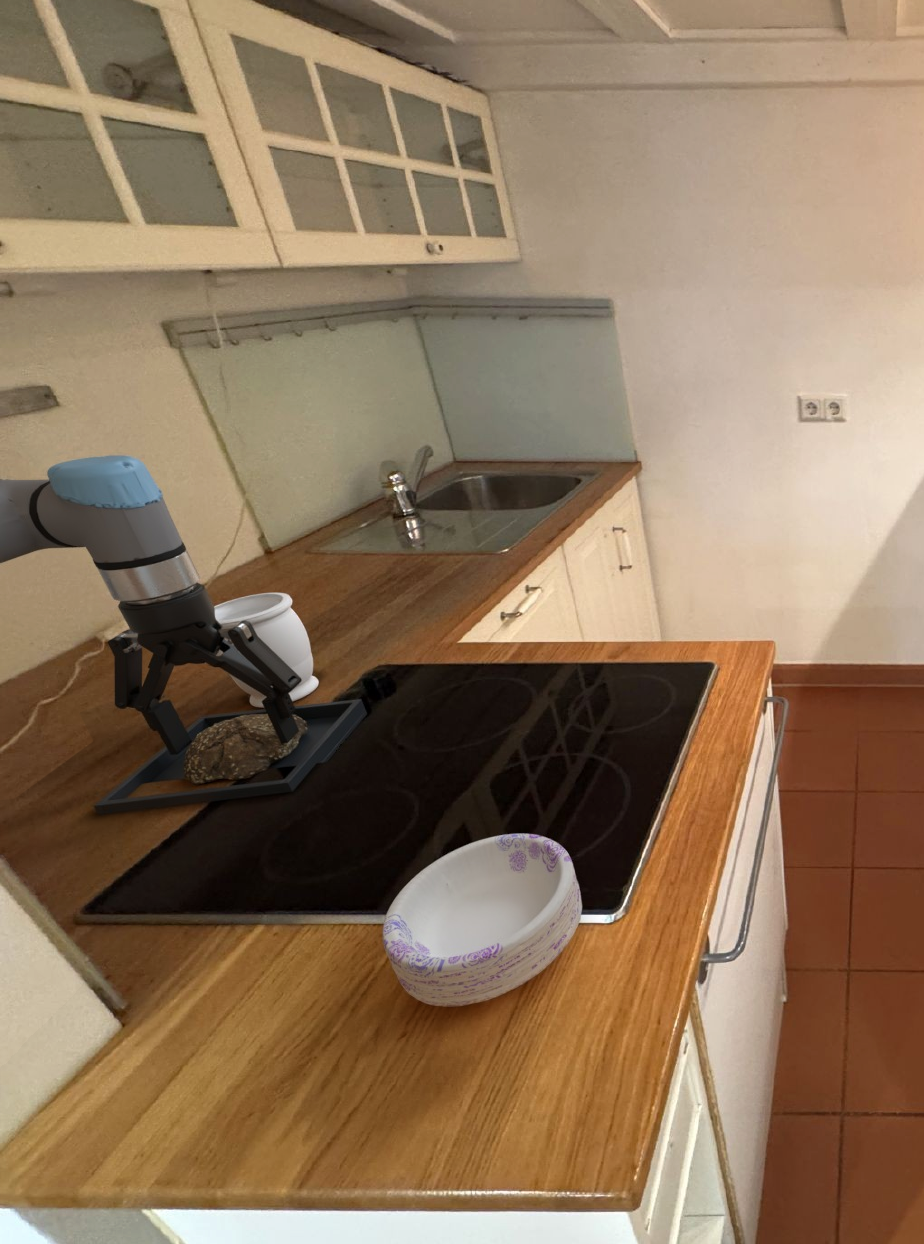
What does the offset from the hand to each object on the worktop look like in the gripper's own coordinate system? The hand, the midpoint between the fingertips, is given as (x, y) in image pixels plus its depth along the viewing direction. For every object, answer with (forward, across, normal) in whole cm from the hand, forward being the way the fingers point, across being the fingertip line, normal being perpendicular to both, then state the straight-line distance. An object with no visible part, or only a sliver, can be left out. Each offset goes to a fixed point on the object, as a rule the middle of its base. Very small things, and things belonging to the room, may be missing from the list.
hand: (236, 742), depth 90 cm
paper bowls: (+3, -42, +37) cm, 56 cm away
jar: (+4, +5, -18) cm, 19 cm away
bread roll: (+2, 0, 0) cm, 2 cm away
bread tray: (+3, 0, 0) cm, 3 cm away
